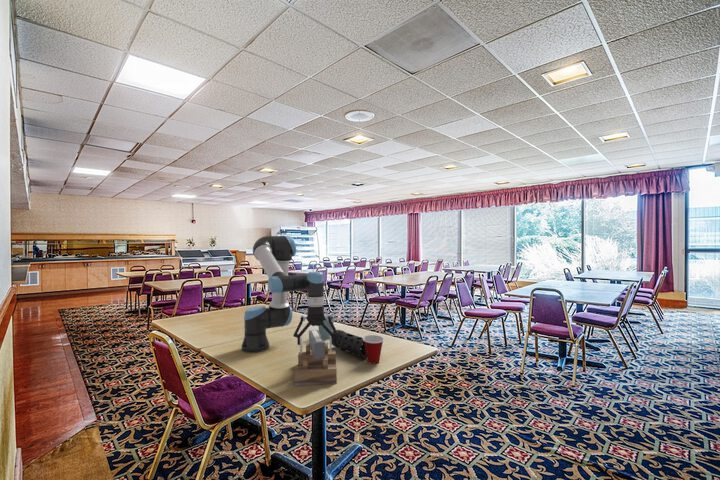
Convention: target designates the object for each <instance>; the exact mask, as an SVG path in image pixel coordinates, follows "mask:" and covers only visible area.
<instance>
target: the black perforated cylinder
mask: <svg viewBox="0 0 720 480" xmlns="http://www.w3.org/2000/svg"><path fill="white" fill-rule="evenodd" d="M336 330H337V332H338V335H337V336H334V344H332V346H333V347H336V348H338V349H340V350H341V351H343V352H345V351H346V352H349V353H350V354H353V355H354V356H356V357H359V358H362V359H366V360H367V355H366V350H365V345H364V341H363V337H362V336H361V337H360V336H358V335H355V334H352V333H349V332H346V331H345V330H341V329H336ZM332 332H333V333H334V331H332ZM330 336H331V335H330ZM328 340H329V341H330V337H329V339H328Z"/></svg>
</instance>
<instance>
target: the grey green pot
mask: <svg viewBox="0 0 720 480" xmlns="http://www.w3.org/2000/svg"><path fill="white" fill-rule="evenodd" d="M331 320H332V322H333V324H335V323H334V322H335V318H334V317H333V316H332V317H331ZM323 322H324V323H325V324H326V326H327V327H328V328H329V329H330V330H331V331H333V329H332V327H331V325H330V324H329V321H327V320H326V319H324V321H323ZM318 331H319V333H320V334H321V336H322V338H323V340H329V337H330V334H329V333H328V332H327V331H326V330H325V329H324V328H323V327H322V326H321V325H319V326H318Z"/></svg>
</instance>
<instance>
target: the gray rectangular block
mask: <svg viewBox="0 0 720 480" xmlns="http://www.w3.org/2000/svg"><path fill="white" fill-rule="evenodd" d="M325 343H326V341H325V339H323V338H322V336H321V334H320V333H319V329H315V330H314V329H313V330H312V329H311V330H309V331H308V344H309V346H310V349H311V351H312V354H313V357H314V360H316V359H325Z"/></svg>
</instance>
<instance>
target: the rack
mask: <svg viewBox="0 0 720 480" xmlns="http://www.w3.org/2000/svg"><path fill="white" fill-rule="evenodd" d="M336 355H337V354H336V350H332V352H330V350H329V342H325V359H316V360H314V357H313V354H312V351H311V349H310V346H309V343H306V345H305V351H302V353H300V351H299V352H298V354H297V365H296V366H294V368H293V386H309V385H310V386H311V385H327V384H330V385H331V384H337V383H338V381H337V380H338V379H337V376H338V373H337V361H336V358H337V357H336Z"/></svg>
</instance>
